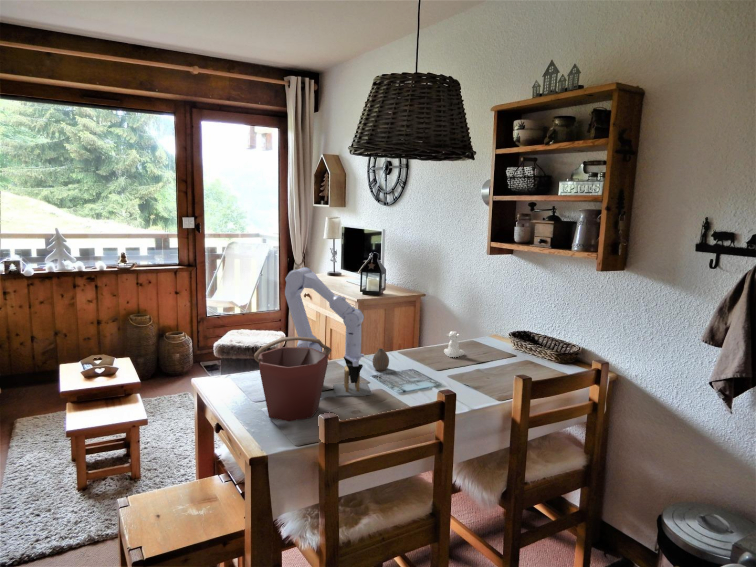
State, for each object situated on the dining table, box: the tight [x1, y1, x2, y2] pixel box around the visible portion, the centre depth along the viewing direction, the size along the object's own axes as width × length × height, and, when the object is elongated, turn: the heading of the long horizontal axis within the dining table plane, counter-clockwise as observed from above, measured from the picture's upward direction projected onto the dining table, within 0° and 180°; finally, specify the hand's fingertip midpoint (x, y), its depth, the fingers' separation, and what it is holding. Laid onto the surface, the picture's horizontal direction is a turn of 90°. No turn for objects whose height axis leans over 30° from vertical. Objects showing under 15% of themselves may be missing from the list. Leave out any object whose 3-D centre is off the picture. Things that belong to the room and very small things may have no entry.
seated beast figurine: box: [443, 330, 466, 359], centre depth 233 cm, size 10×9×12 cm
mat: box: [332, 382, 373, 398], centre depth 188 cm, size 13×11×1 cm
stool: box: [343, 365, 361, 392], centre depth 187 cm, size 5×5×8 cm
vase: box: [372, 348, 390, 372], centre depth 211 cm, size 7×7×9 cm
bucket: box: [253, 336, 332, 423], centre depth 166 cm, size 24×22×25 cm
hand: (352, 379), depth 187 cm, fingers open, 7 cm apart
